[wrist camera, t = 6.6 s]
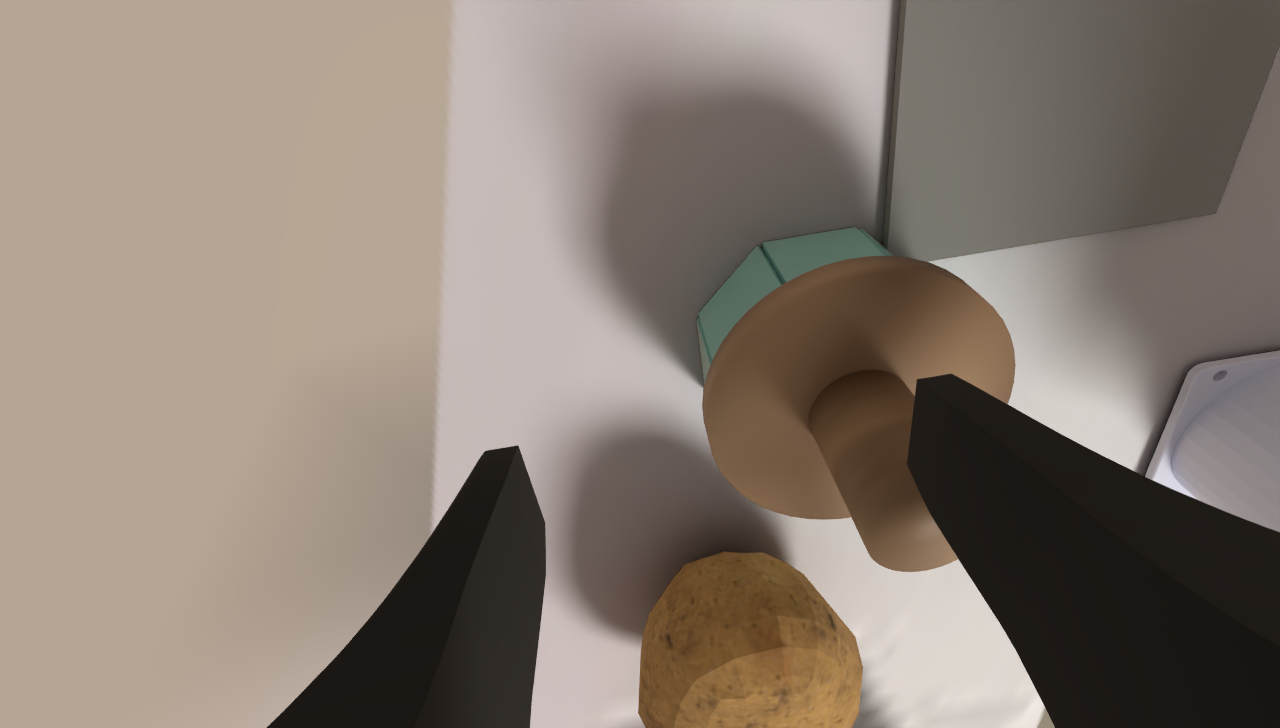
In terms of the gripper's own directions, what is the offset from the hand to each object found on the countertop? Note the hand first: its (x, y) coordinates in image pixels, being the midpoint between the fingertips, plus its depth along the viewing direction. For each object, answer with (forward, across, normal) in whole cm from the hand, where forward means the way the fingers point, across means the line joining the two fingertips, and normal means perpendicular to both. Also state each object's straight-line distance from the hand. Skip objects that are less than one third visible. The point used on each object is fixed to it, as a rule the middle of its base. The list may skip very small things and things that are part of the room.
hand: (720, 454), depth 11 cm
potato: (+11, -1, +19) cm, 22 cm away
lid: (+6, -5, +4) cm, 9 cm away
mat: (+10, -13, -2) cm, 17 cm away
